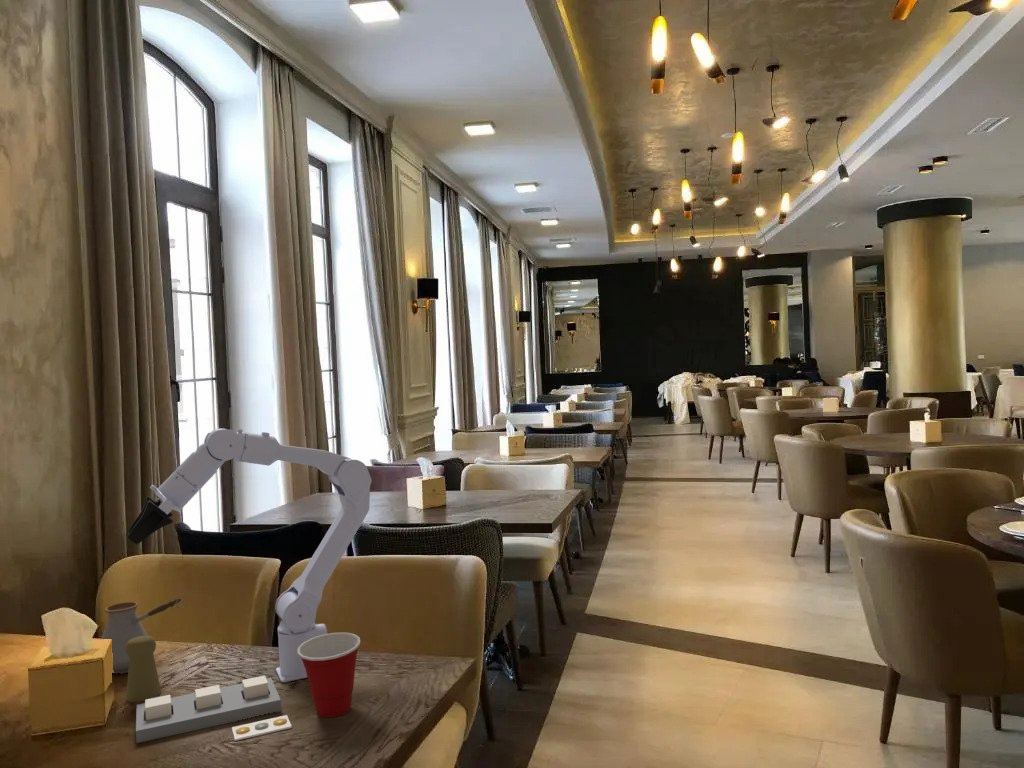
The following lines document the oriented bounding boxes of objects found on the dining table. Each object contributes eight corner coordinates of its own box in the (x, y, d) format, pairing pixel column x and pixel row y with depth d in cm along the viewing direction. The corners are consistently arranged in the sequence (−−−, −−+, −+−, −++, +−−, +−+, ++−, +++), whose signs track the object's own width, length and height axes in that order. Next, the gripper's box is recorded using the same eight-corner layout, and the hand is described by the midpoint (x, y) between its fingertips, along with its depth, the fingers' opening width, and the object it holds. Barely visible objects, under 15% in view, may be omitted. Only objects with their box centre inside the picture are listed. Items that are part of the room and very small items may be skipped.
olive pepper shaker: (147, 702, 146) (143, 643, 146) (118, 701, 148) (115, 642, 147) (168, 689, 152) (164, 632, 152) (140, 688, 153) (136, 632, 153)
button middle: (219, 698, 142) (218, 684, 142) (221, 706, 139) (220, 692, 139) (195, 703, 141) (194, 689, 141) (196, 711, 137) (196, 697, 137)
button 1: (171, 708, 139) (170, 694, 139) (171, 717, 135) (171, 702, 135) (146, 713, 137) (145, 699, 137) (146, 722, 134) (145, 707, 134)
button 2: (265, 688, 146) (264, 675, 146) (268, 696, 142) (267, 682, 142) (243, 693, 144) (242, 680, 144) (245, 701, 140) (244, 687, 140)
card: (287, 716, 137) (286, 713, 137) (291, 727, 132) (291, 724, 132) (231, 729, 133) (231, 726, 133) (234, 741, 128) (234, 737, 128)
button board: (271, 687, 150) (271, 677, 150) (281, 711, 139) (280, 699, 139) (137, 716, 140) (136, 704, 140) (136, 743, 130) (135, 731, 129)
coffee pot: (81, 675, 162) (76, 602, 162) (125, 655, 173) (120, 587, 173) (165, 683, 156) (160, 607, 155) (205, 662, 166) (201, 591, 166)
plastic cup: (287, 721, 135) (283, 651, 135) (324, 695, 145) (320, 630, 145) (342, 728, 131) (338, 655, 131) (376, 701, 141) (372, 634, 141)
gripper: (169, 464, 154) (115, 518, 150) (171, 469, 141) (112, 529, 137) (197, 487, 156) (145, 542, 152) (202, 494, 143) (145, 554, 139)
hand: (132, 537), depth 144 cm, fingers open, 7 cm apart
